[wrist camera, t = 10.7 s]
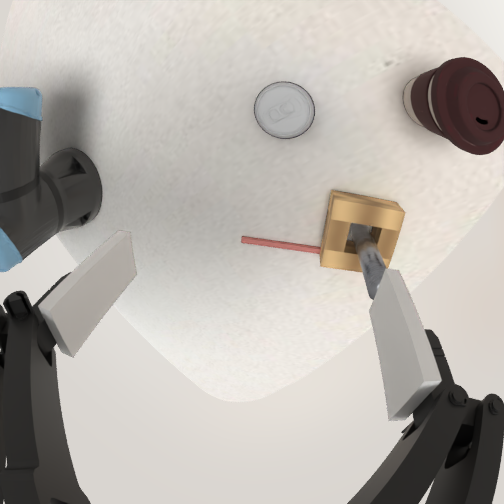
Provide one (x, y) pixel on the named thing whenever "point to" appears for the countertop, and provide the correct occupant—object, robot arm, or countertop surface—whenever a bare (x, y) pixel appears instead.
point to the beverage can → (284, 110)
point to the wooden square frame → (361, 212)
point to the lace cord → (281, 245)
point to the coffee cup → (459, 104)
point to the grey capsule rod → (368, 257)
